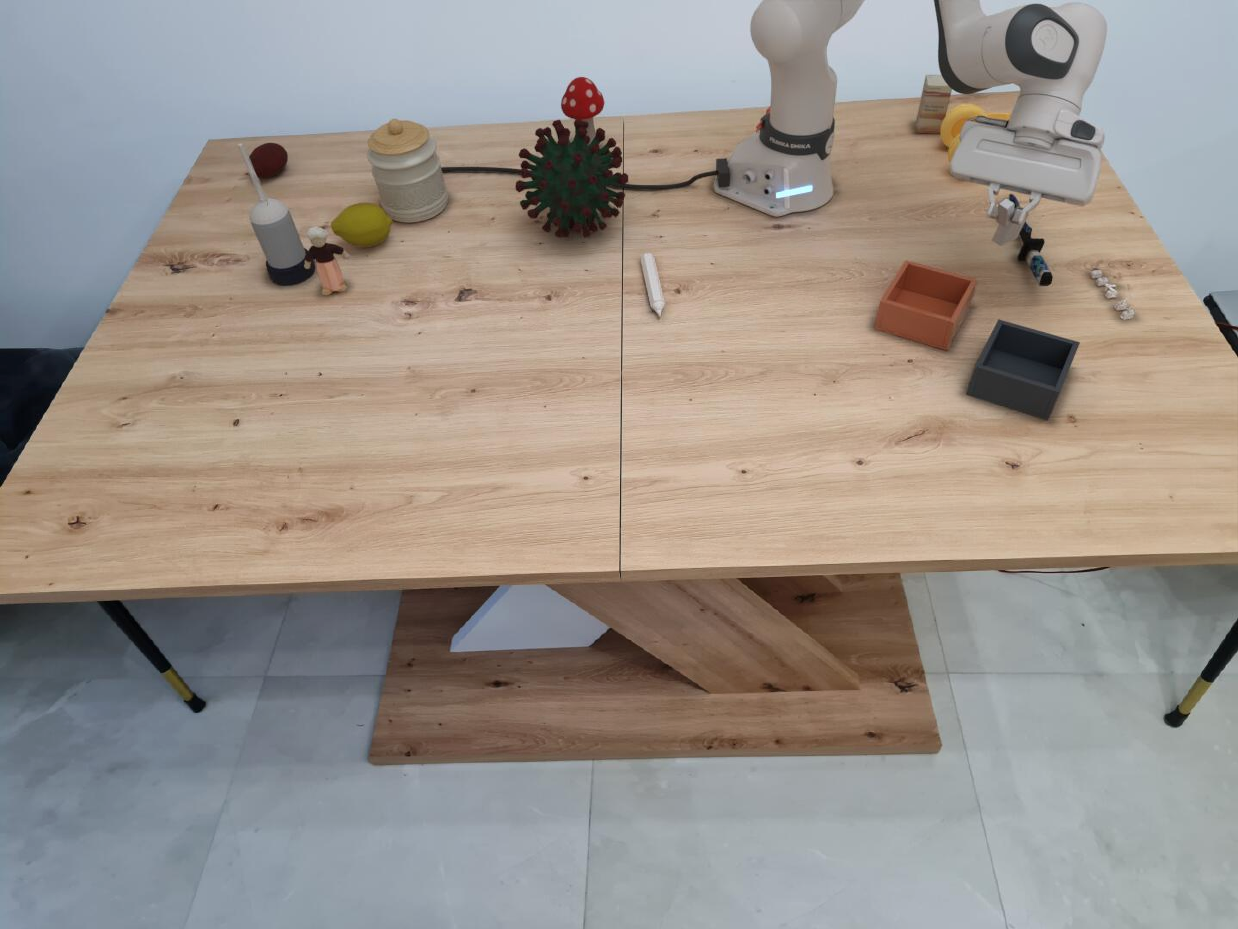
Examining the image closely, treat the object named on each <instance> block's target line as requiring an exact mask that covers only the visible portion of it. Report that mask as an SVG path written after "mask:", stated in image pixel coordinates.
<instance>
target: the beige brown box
mask: <svg viewBox="0 0 1238 929" xmlns="http://www.w3.org/2000/svg"><path fill="white" fill-rule="evenodd" d="M952 92H953V89H951V88H950V87H949V86H948V85H947V83H946V82H945V81H944V79H943V77H942V75H941V74H925V77H924V81H923V86H922V91H921V95H920V100H919V105H918V109H917V114H916V118H915V131H916V134H934V135H935V134H938V135H939V134H940V135H941V124H942V121H943V119H944V118H945V116H946V115H947V113H948V108H949V105H950V104H949V103H950V100H951V95H952Z"/></svg>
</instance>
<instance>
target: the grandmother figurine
mask: <svg viewBox="0 0 1238 929" xmlns="http://www.w3.org/2000/svg"><path fill="white" fill-rule="evenodd" d="M306 237H307V239H308V240H309V241H310V243H311V246H310V247H309V249H307V250H308V252H307V254H306V257H305V264H304V267H305V268H306V269H309V268H310V264H311V261H315V268H316V271H317V275H318V279H319V281H320V284H321V287H322V289H321V292H320V293H321V295H322V296H330V295H331V294H332V293H333V292H337V293H343V292H345V291H347V289H348V286H347V285H346V283H345V280H344V276H343V274H342V269H341V267H340V264H339V262H338V260H337V257H336V256H335V255H338V256H341V257H342V258H343V259H345V260H349V259H350V254H349V253H347V251H346V250H345V248H344V246H343V247H342V246H340V245H338V244H335V243H329V242H327V240H328V237H329V235H328V231H326V230H325V229H324V228H323V227H320V226H317V225H315V226H312V227H310V228H309V229H307V231H306Z"/></svg>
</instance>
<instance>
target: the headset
mask: <svg viewBox="0 0 1238 929" xmlns="http://www.w3.org/2000/svg"><path fill="white" fill-rule="evenodd" d="M977 116H986V117H988V118H993V119H994V118H995V119H1002V120H1009V119H1010V116H1011V113H1010V112H1009V113H1008V112H986V111H985V109H983V107H980V106H979V105H976V104H971V103H962V104H961V103H960V104H958V105H956V106H954V107H952V108H951V109H950V110H948V111H947V113H946V116H945V118H944V119H943V121H942V124H941V134H940V138H941V141H942V143H943V144H944V145H945V146H946V147H947V148H948V149H947V158H948V162H949V163H950V162H951V160H952V157H953V155H954V153H955V151H956V149H957V147H958V145H959V143H960V139H959V136H960V132H961V130H962V127H963V125H964V123H965V122H966V121H967V120H969V119H971V118H975V117H977ZM973 122H976V120H974V121H973Z"/></svg>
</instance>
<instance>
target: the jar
mask: <svg viewBox="0 0 1238 929" xmlns="http://www.w3.org/2000/svg"><path fill="white" fill-rule="evenodd" d="M367 146H368V149H367V152H366V159H367V161H368V162H369V164H370V165H371V175H372V178H373V179H374V182H375V185H376V189H377V192H378V195H379V200H380V202H379V203H380V204H381V208H382V209H383V210H384V211H385V213H386V215H387V216H388V217H390V218H391V219H392V221H395V222H400V223H419V222H424V221H426V220H429V219H433V218H434V217H436V216H437V215H439V214H440V213H441V212H443V211H444V210H445V208H446V207H447V206H448V204H449V191H448V186H447V185H446V182H445V179H444V175H443V172H442V169H441V167H442V166H441V158H440V156H439V155H438V153H436V150H437V146H438V145H437V141H436V140H435V138H434V137H433V136H431V135H430V131H429V129H428V128H427V127H426V126H425V125H423V124H422V123H421V124H420V123H419V122H418V123H416V122H415V121H412V120H405V119H403V120H400V119H398V118H392V119H390V120H389V121H388V122H387V123H384V124H382V125H380V126H379V127H378V128H377V129H376V130H375V131H374V132H373V133H371V135H370V136H369V137H368V139H367Z"/></svg>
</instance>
